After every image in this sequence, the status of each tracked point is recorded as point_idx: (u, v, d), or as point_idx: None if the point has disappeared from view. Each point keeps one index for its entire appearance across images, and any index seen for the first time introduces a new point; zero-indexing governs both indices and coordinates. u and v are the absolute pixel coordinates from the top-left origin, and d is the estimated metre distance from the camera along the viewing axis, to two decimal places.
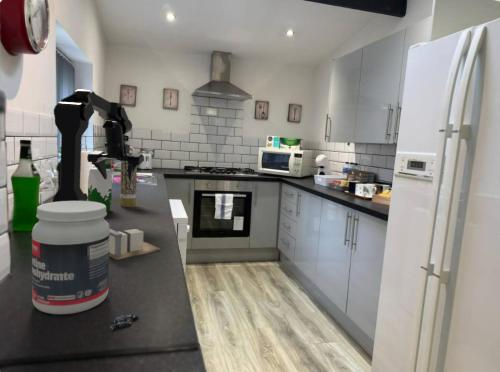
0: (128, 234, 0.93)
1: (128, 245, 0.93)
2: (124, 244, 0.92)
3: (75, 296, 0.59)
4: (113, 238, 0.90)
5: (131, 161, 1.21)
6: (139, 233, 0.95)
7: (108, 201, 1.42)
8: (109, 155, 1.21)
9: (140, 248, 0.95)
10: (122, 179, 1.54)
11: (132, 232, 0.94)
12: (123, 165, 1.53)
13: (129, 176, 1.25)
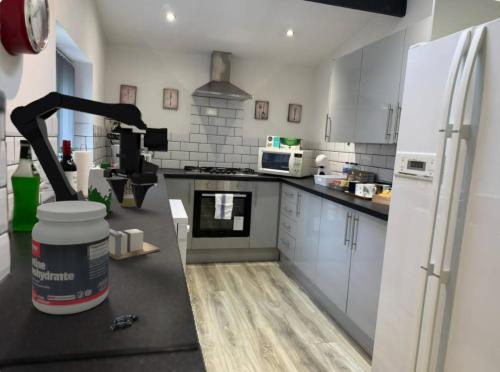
0: (128, 234, 0.93)
1: (128, 245, 0.93)
2: (124, 244, 0.92)
3: (75, 296, 0.59)
4: (113, 238, 0.90)
5: (133, 178, 0.90)
6: (139, 233, 0.95)
7: (108, 201, 1.42)
8: (118, 169, 0.95)
9: (140, 248, 0.95)
10: None
11: (132, 232, 0.94)
12: None
13: (135, 200, 0.93)
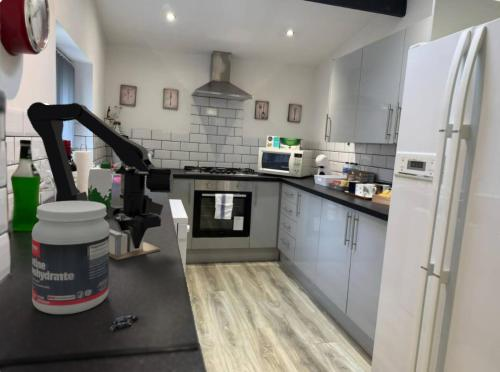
0: (128, 234, 0.93)
1: (128, 245, 0.93)
2: (124, 244, 0.92)
3: (75, 296, 0.59)
4: (113, 238, 0.90)
5: (136, 222, 0.88)
6: None
7: (108, 201, 1.42)
8: (122, 211, 0.93)
9: (140, 248, 0.95)
10: (122, 179, 1.54)
11: None
12: None
13: (133, 241, 0.93)
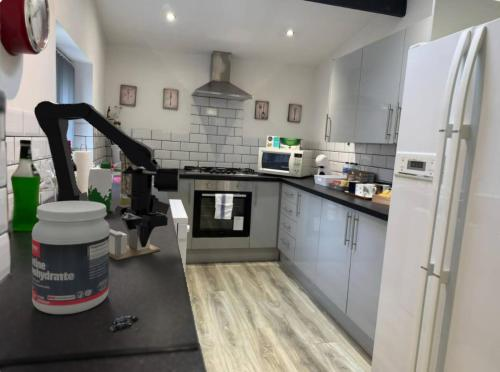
0: (135, 233, 0.95)
1: (135, 244, 0.95)
2: (124, 244, 0.92)
3: (75, 296, 0.59)
4: (113, 238, 0.90)
5: (143, 221, 0.90)
6: None
7: (108, 201, 1.42)
8: (129, 210, 0.95)
9: (147, 247, 0.97)
10: (122, 179, 1.54)
11: None
12: (123, 165, 1.53)
13: (140, 240, 0.95)
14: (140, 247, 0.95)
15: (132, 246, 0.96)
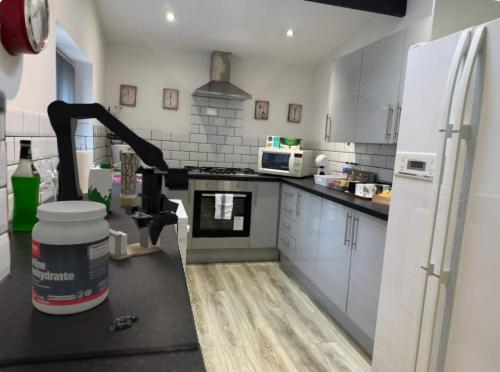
0: (146, 231, 0.97)
1: (146, 242, 0.97)
2: (124, 244, 0.92)
3: (75, 296, 0.59)
4: (113, 238, 0.90)
5: (154, 219, 0.92)
6: None
7: (108, 201, 1.42)
8: (140, 209, 0.97)
9: (157, 245, 1.00)
10: (122, 179, 1.54)
11: None
12: (123, 165, 1.53)
13: (151, 238, 0.97)
14: (151, 245, 0.98)
15: (143, 244, 0.98)
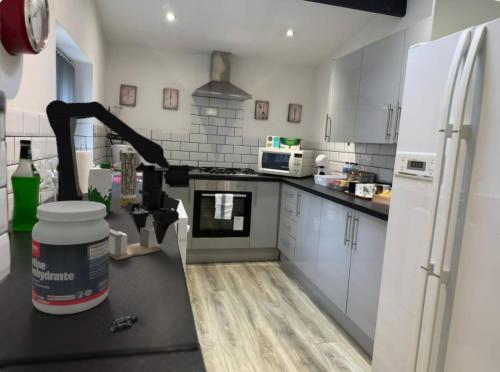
0: (146, 231, 0.97)
1: (146, 242, 0.97)
2: (124, 244, 0.92)
3: (75, 296, 0.59)
4: (113, 238, 0.90)
5: (155, 216, 0.92)
6: None
7: (108, 201, 1.42)
8: (140, 206, 0.97)
9: (157, 245, 1.00)
10: (122, 179, 1.54)
11: (150, 229, 0.98)
12: (123, 165, 1.53)
13: (156, 237, 0.95)
14: (151, 245, 0.98)
15: (143, 244, 0.99)
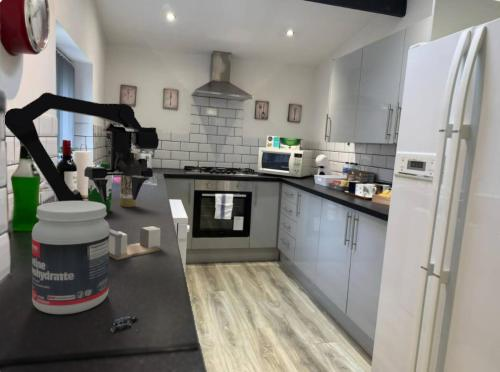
0: (146, 231, 0.97)
1: (146, 242, 0.97)
2: (124, 244, 0.92)
3: (75, 296, 0.59)
4: (113, 238, 0.90)
5: None
6: (156, 230, 0.99)
7: (108, 201, 1.42)
8: None
9: (157, 245, 1.00)
10: (122, 179, 1.54)
11: (150, 229, 0.98)
12: None
13: None
14: (151, 245, 0.98)
15: (143, 244, 0.99)
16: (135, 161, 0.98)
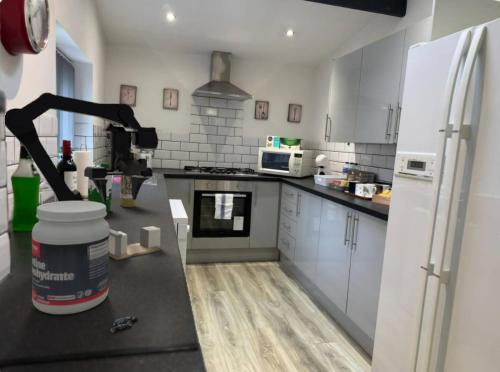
0: (146, 231, 0.97)
1: (146, 242, 0.97)
2: (124, 244, 0.92)
3: (75, 296, 0.59)
4: (113, 238, 0.90)
5: None
6: (156, 230, 0.99)
7: (108, 201, 1.42)
8: None
9: (157, 245, 1.00)
10: (122, 179, 1.54)
11: (150, 229, 0.98)
12: None
13: None
14: (151, 245, 0.98)
15: (143, 244, 0.99)
16: (135, 161, 0.98)
